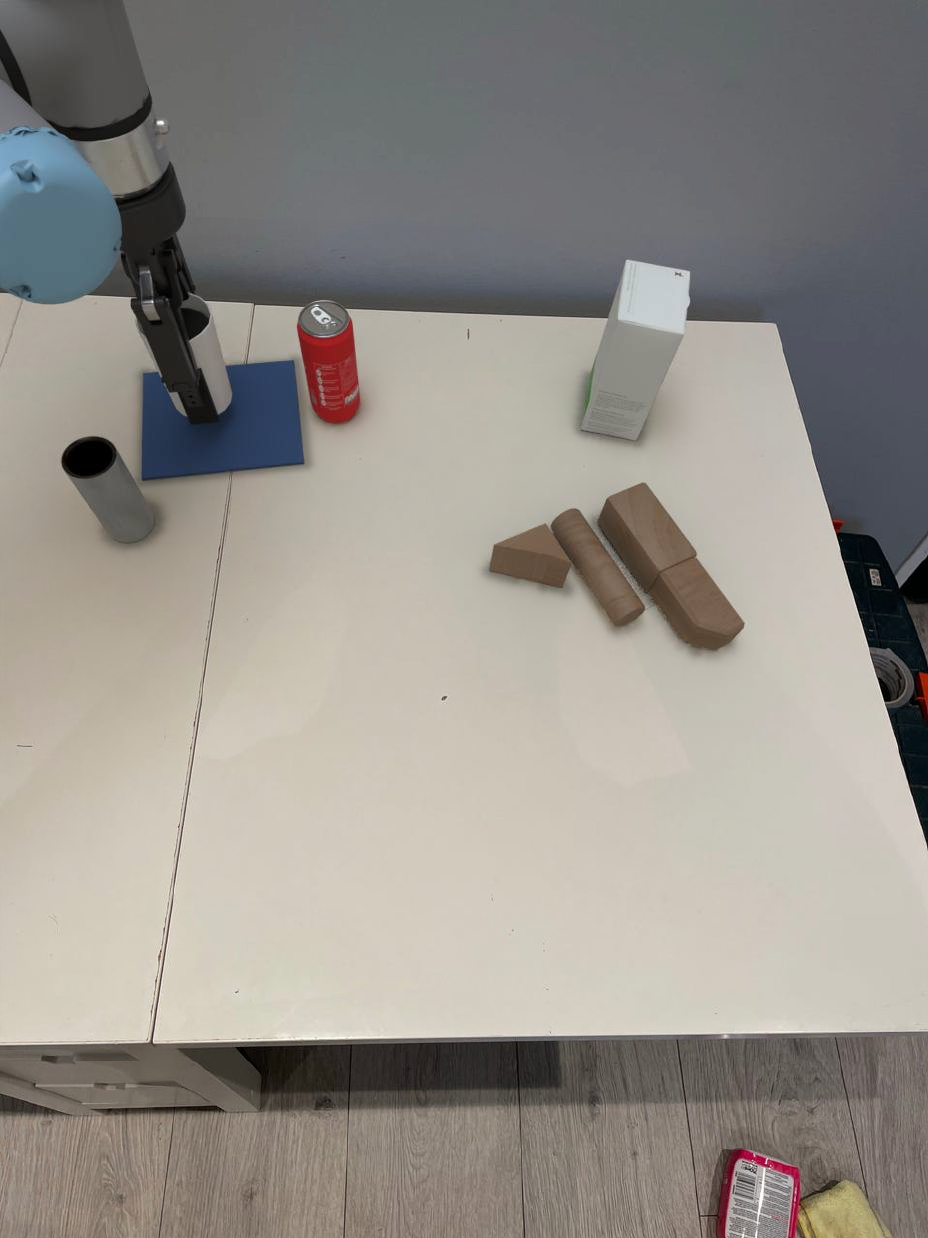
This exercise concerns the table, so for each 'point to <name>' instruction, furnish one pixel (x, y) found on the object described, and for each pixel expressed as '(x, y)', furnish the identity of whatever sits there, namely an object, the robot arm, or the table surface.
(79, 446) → the gray tube
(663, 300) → the cosmetic box
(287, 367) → the cloth mat
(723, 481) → the table surface
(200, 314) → the white cup
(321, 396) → the beverage can
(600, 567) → the wooden block set
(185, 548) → the table surface
